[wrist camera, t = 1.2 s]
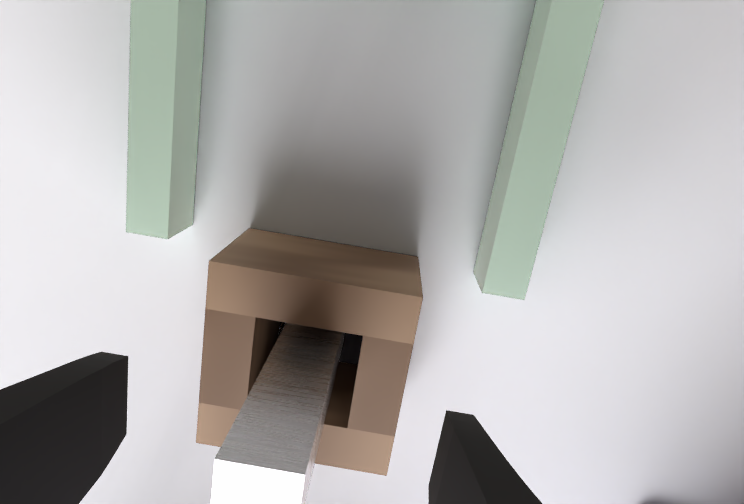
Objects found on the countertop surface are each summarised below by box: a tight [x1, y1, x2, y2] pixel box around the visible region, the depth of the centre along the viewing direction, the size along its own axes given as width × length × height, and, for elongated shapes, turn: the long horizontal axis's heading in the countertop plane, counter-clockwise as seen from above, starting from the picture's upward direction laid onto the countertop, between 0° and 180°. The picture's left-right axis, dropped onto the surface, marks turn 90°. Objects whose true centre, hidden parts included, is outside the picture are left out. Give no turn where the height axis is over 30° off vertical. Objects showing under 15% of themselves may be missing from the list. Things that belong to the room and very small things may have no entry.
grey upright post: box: [211, 323, 345, 504], centre depth 13 cm, size 2×2×8 cm
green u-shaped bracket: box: [126, 0, 604, 300], centre depth 14 cm, size 11×10×2 cm
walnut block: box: [196, 228, 423, 476], centre depth 15 cm, size 5×5×4 cm
